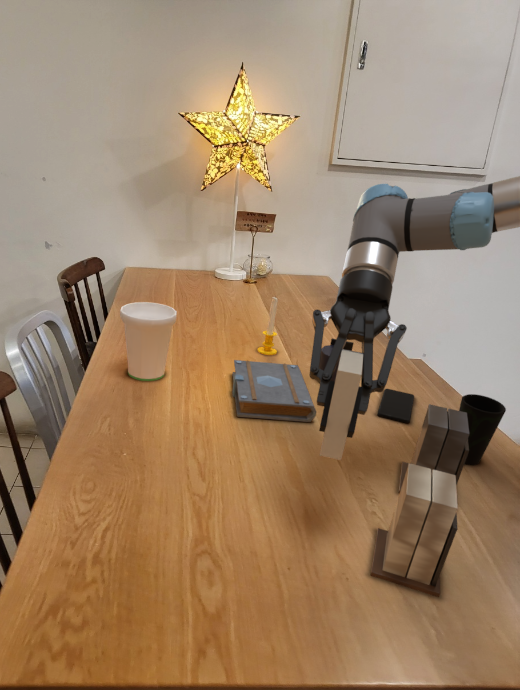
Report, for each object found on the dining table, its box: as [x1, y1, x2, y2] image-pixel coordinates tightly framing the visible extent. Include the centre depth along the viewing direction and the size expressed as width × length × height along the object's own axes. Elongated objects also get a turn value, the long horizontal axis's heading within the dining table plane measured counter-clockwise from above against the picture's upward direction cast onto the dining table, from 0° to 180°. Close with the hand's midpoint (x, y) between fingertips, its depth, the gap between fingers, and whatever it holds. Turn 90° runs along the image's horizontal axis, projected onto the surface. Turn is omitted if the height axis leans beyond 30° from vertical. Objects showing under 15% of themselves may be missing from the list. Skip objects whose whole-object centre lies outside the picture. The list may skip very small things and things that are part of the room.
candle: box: [257, 295, 279, 356], centre depth 142 cm, size 5×5×16 cm
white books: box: [370, 462, 459, 598], centre depth 74 cm, size 9×10×14 cm
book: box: [231, 359, 317, 423], centre depth 119 cm, size 21×16×5 cm
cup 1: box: [119, 301, 178, 382], centre depth 122 cm, size 12×12×15 cm
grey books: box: [398, 403, 469, 495], centre depth 92 cm, size 9×10×14 cm
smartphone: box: [377, 388, 415, 424], centre depth 122 cm, size 7×1×15 cm
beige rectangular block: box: [319, 349, 364, 461], centre depth 75 cm, size 3×8×13 cm, turn 165°
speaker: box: [319, 337, 355, 382], centre depth 130 cm, size 8×6×10 cm
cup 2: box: [458, 393, 507, 466], centre depth 102 cm, size 8×8×12 cm
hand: (336, 431), depth 72 cm, fingers closed on beige rectangular block, 3 cm apart
